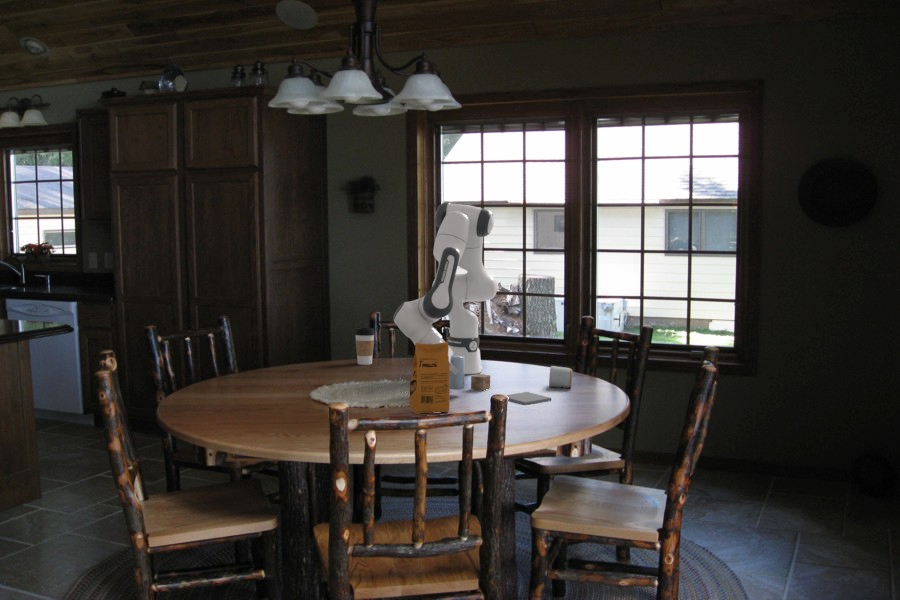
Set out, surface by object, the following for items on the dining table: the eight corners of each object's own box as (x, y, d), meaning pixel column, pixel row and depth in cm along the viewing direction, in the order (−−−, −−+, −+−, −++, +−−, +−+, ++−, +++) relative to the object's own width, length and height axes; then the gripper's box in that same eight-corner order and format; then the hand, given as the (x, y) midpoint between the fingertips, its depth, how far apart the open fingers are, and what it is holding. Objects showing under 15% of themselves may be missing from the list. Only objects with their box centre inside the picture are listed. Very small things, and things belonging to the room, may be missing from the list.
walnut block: (470, 389, 303) (471, 375, 302) (478, 387, 307) (478, 373, 306) (482, 391, 300) (483, 377, 299) (490, 389, 304) (490, 375, 304)
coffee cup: (353, 365, 349) (353, 329, 347) (356, 361, 357) (356, 326, 356) (373, 365, 348) (373, 329, 347) (376, 362, 357) (376, 326, 355)
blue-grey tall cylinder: (444, 387, 292) (445, 356, 291) (457, 385, 296) (458, 354, 294) (454, 390, 288) (455, 358, 287) (467, 388, 291) (468, 356, 290)
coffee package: (408, 407, 272) (408, 340, 270) (445, 406, 275) (446, 339, 272) (412, 415, 263) (412, 345, 260) (451, 413, 265) (452, 344, 263)
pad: (501, 398, 288) (501, 396, 288) (527, 394, 295) (527, 391, 295) (525, 404, 279) (525, 402, 279) (551, 400, 286) (551, 397, 286)
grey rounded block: (571, 389, 304) (572, 368, 303) (548, 388, 305) (549, 367, 305) (572, 384, 314) (573, 364, 314) (550, 383, 316) (551, 363, 315)
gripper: (434, 340, 280) (463, 370, 280) (439, 331, 300) (466, 359, 301) (420, 353, 281) (449, 383, 281) (426, 343, 301) (453, 371, 302)
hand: (458, 371), depth 291 cm, fingers closed on blue-grey tall cylinder, 6 cm apart
